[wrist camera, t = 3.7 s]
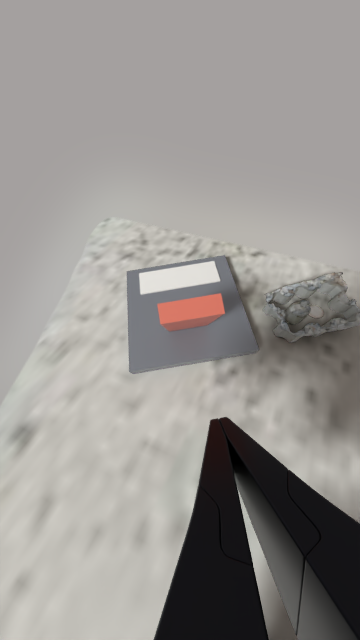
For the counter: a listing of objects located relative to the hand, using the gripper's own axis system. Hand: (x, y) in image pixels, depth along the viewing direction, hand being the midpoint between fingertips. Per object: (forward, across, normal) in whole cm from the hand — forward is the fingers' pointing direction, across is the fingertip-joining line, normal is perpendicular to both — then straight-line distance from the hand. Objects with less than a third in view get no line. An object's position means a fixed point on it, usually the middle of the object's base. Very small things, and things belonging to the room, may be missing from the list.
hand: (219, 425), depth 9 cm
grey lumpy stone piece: (+17, +16, -2) cm, 24 cm away
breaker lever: (+16, 0, 0) cm, 16 cm away
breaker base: (+19, 0, +1) cm, 19 cm away
